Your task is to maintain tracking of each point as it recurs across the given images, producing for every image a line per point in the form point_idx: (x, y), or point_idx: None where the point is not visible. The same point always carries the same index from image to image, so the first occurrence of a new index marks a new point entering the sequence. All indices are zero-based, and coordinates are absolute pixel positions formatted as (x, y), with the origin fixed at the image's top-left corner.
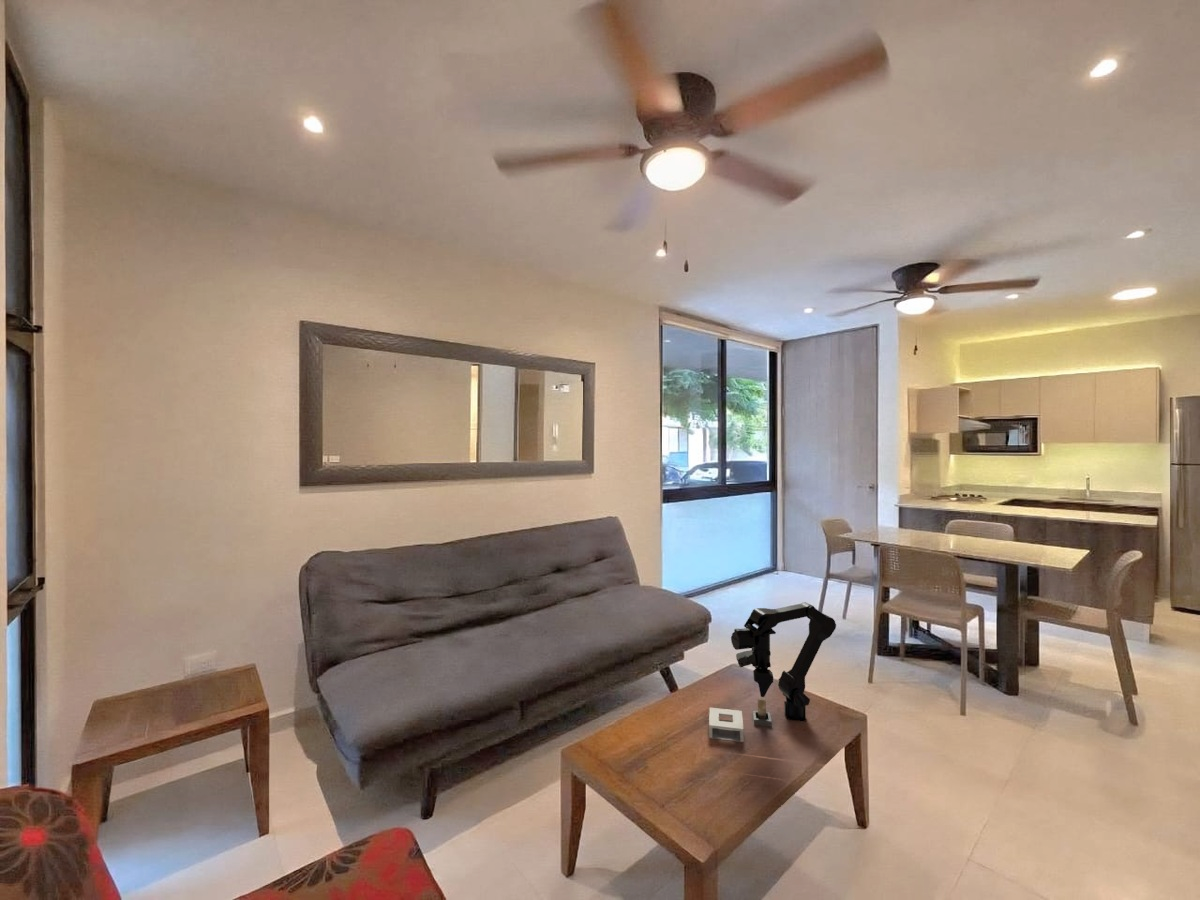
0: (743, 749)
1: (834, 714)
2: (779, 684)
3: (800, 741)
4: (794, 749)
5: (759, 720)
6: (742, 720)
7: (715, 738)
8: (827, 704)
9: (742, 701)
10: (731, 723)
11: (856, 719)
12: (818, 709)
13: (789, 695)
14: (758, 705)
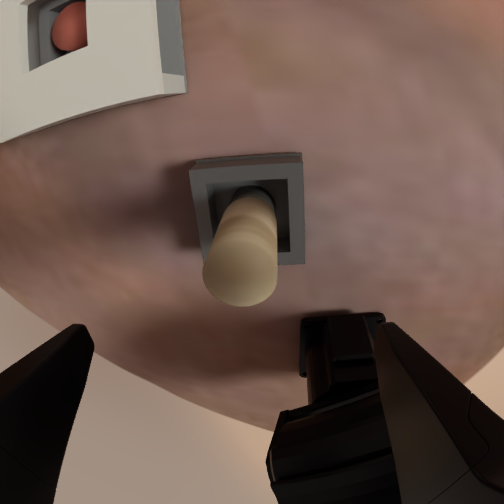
0: None
1: None
2: (383, 431)
3: (161, 340)
4: (103, 315)
5: (194, 202)
6: (50, 122)
7: (27, 16)
8: None
9: (457, 109)
10: (10, 72)
11: None
12: None
13: (281, 442)
14: (222, 229)
